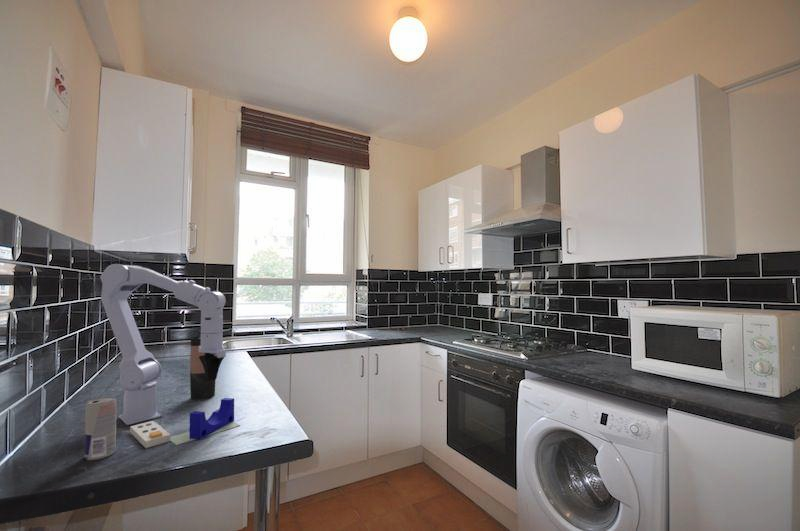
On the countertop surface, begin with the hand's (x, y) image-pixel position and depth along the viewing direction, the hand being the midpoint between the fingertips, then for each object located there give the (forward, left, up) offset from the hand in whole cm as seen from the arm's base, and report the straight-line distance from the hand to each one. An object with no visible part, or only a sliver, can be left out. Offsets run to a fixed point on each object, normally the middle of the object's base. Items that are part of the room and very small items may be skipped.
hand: (211, 379), depth 104 cm
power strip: (+4, -16, -10) cm, 19 cm away
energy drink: (+7, -26, -10) cm, 29 cm away
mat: (+12, -6, -10) cm, 17 cm away
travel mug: (-20, +5, -10) cm, 23 cm away
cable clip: (+12, -4, -10) cm, 16 cm away
